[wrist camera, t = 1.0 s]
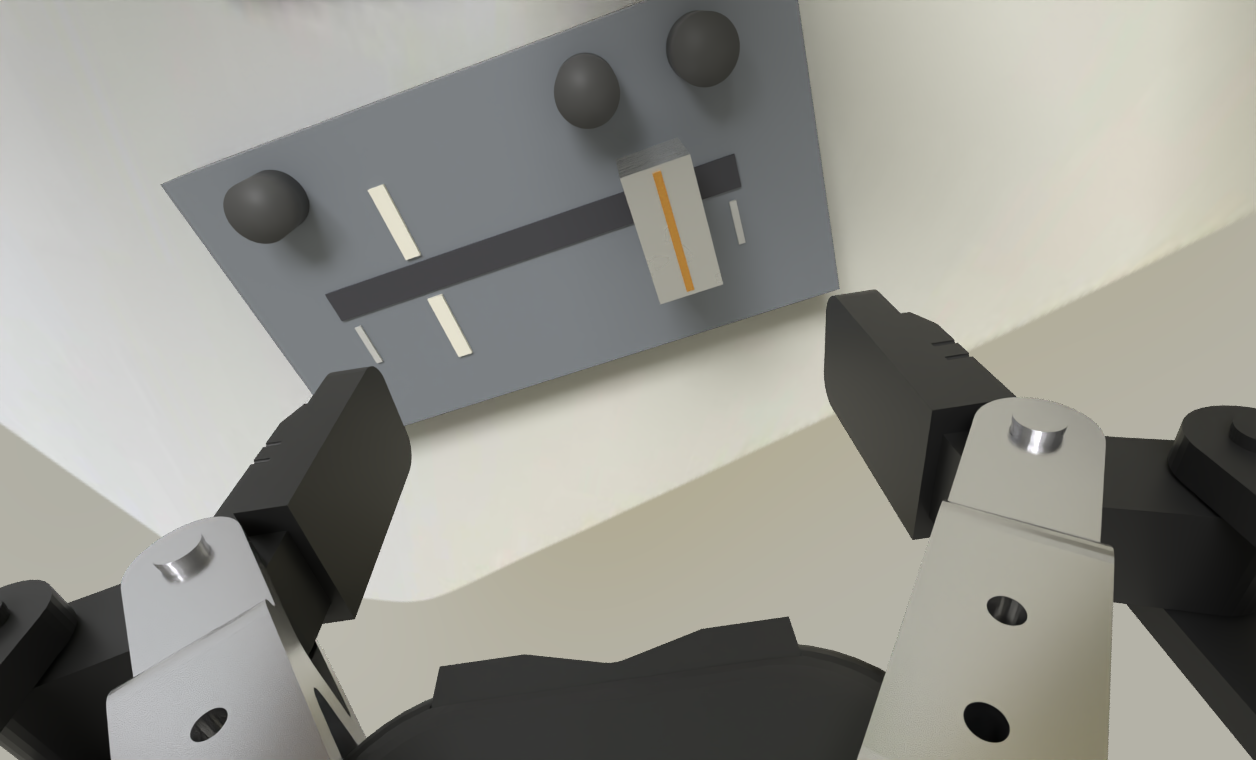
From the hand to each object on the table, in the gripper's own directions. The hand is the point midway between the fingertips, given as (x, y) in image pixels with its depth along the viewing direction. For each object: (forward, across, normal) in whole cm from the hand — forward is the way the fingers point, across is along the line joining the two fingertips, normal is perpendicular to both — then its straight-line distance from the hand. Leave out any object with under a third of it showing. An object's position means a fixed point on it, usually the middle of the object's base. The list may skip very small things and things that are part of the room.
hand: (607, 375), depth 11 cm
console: (+19, +3, +3) cm, 20 cm away
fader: (+17, -3, +2) cm, 17 cm away
